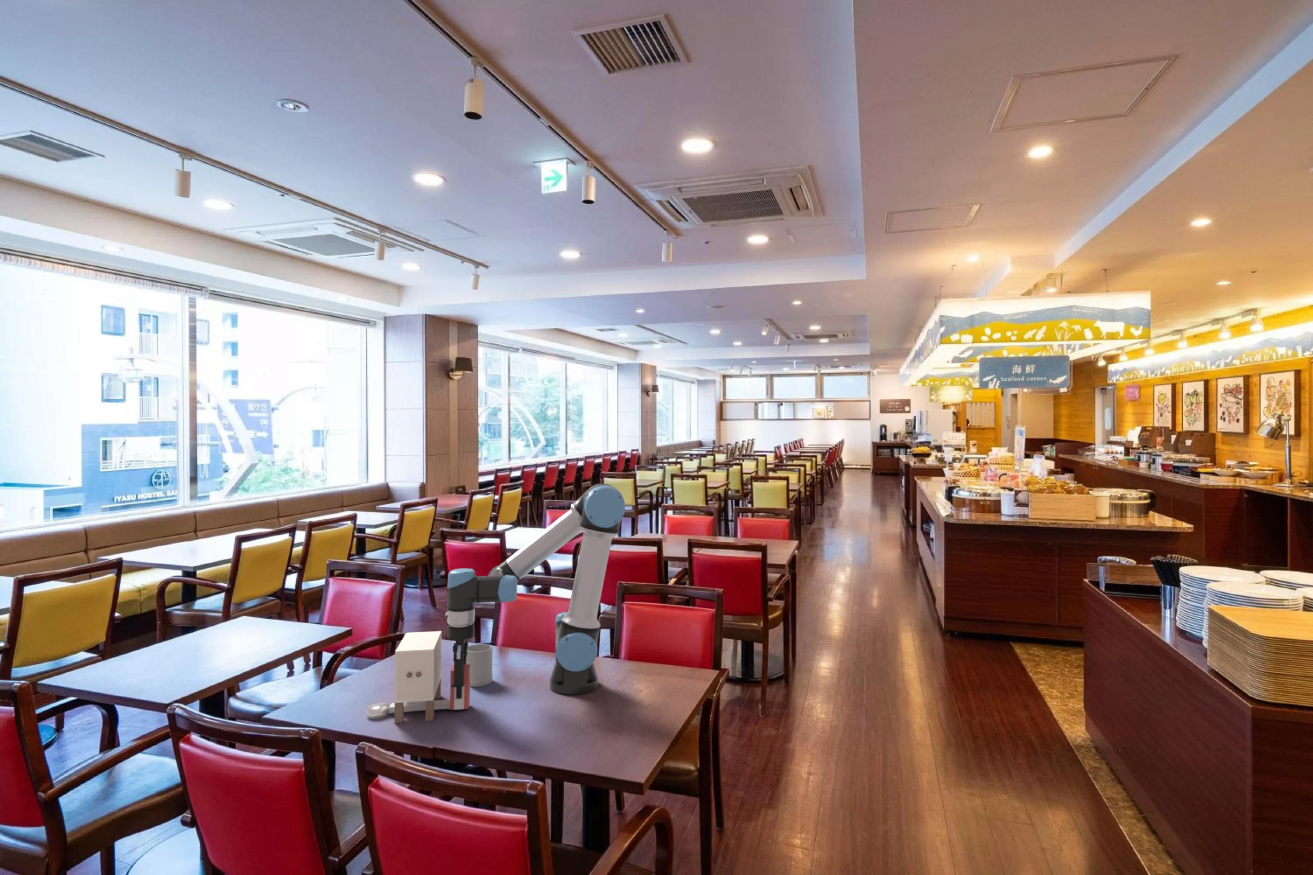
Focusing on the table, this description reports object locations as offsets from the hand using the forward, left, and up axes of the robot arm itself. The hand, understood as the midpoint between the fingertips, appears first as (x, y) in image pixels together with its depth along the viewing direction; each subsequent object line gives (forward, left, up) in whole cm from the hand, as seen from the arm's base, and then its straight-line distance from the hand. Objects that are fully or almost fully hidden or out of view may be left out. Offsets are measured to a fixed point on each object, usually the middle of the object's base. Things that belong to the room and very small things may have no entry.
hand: (459, 704), depth 191 cm
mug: (-3, -22, -1) cm, 22 cm away
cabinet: (+11, -2, -1) cm, 12 cm away
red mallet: (+8, 0, 0) cm, 8 cm away
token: (+22, 0, -1) cm, 22 cm away
